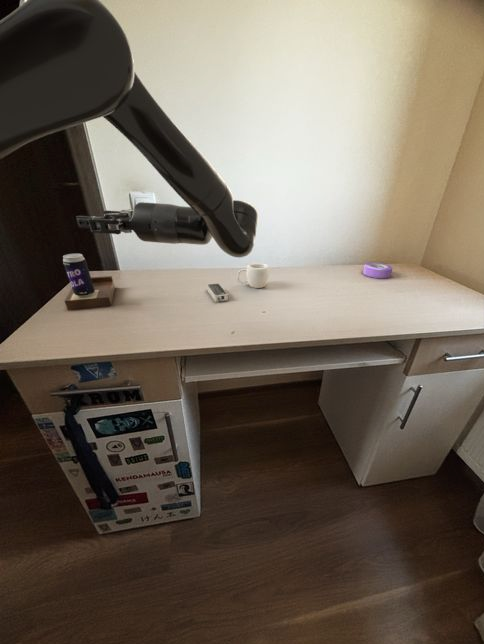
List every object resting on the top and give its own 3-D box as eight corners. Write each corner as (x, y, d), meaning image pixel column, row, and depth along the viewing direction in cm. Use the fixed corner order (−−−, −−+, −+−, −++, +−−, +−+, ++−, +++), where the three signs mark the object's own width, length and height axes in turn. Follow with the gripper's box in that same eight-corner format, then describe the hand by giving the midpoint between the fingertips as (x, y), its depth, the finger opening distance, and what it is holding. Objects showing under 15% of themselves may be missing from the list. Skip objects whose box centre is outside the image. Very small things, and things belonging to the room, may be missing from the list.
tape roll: (358, 270, 129) (360, 262, 127) (381, 270, 131) (383, 261, 129) (370, 279, 120) (373, 270, 118) (395, 278, 122) (398, 269, 119)
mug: (267, 282, 112) (268, 262, 108) (269, 289, 105) (270, 269, 101) (237, 281, 111) (236, 261, 107) (237, 289, 104) (236, 268, 100)
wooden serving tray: (67, 310, 85) (62, 296, 83) (77, 291, 98) (73, 278, 95) (111, 305, 89) (107, 292, 86) (115, 288, 101) (111, 275, 99)
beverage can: (73, 293, 88) (60, 254, 82) (93, 290, 91) (82, 252, 85) (76, 299, 85) (62, 259, 78) (97, 295, 87) (85, 256, 81)
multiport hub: (219, 289, 104) (218, 283, 103) (228, 300, 96) (228, 294, 94) (207, 290, 102) (206, 284, 101) (215, 302, 94) (215, 295, 93)
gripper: (174, 200, 62) (108, 196, 65) (140, 207, 51) (60, 202, 53) (179, 235, 67) (116, 230, 69) (148, 250, 55) (73, 243, 57)
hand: (92, 218), depth 61 cm, fingers open, 8 cm apart
